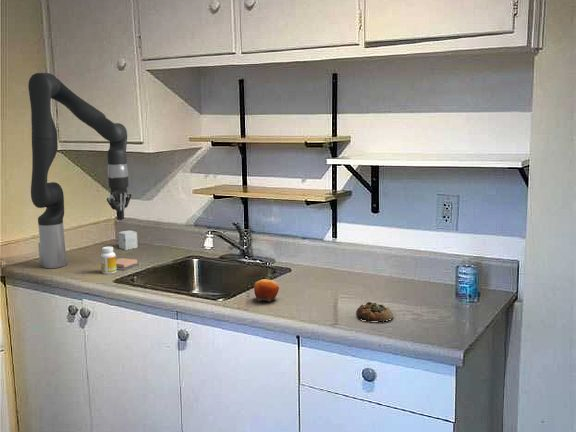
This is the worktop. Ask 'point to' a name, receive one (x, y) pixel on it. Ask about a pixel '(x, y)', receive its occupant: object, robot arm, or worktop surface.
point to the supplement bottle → (108, 260)
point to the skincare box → (128, 239)
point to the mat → (126, 267)
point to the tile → (125, 262)
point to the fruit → (266, 290)
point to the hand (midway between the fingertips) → (120, 219)
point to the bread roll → (374, 312)
